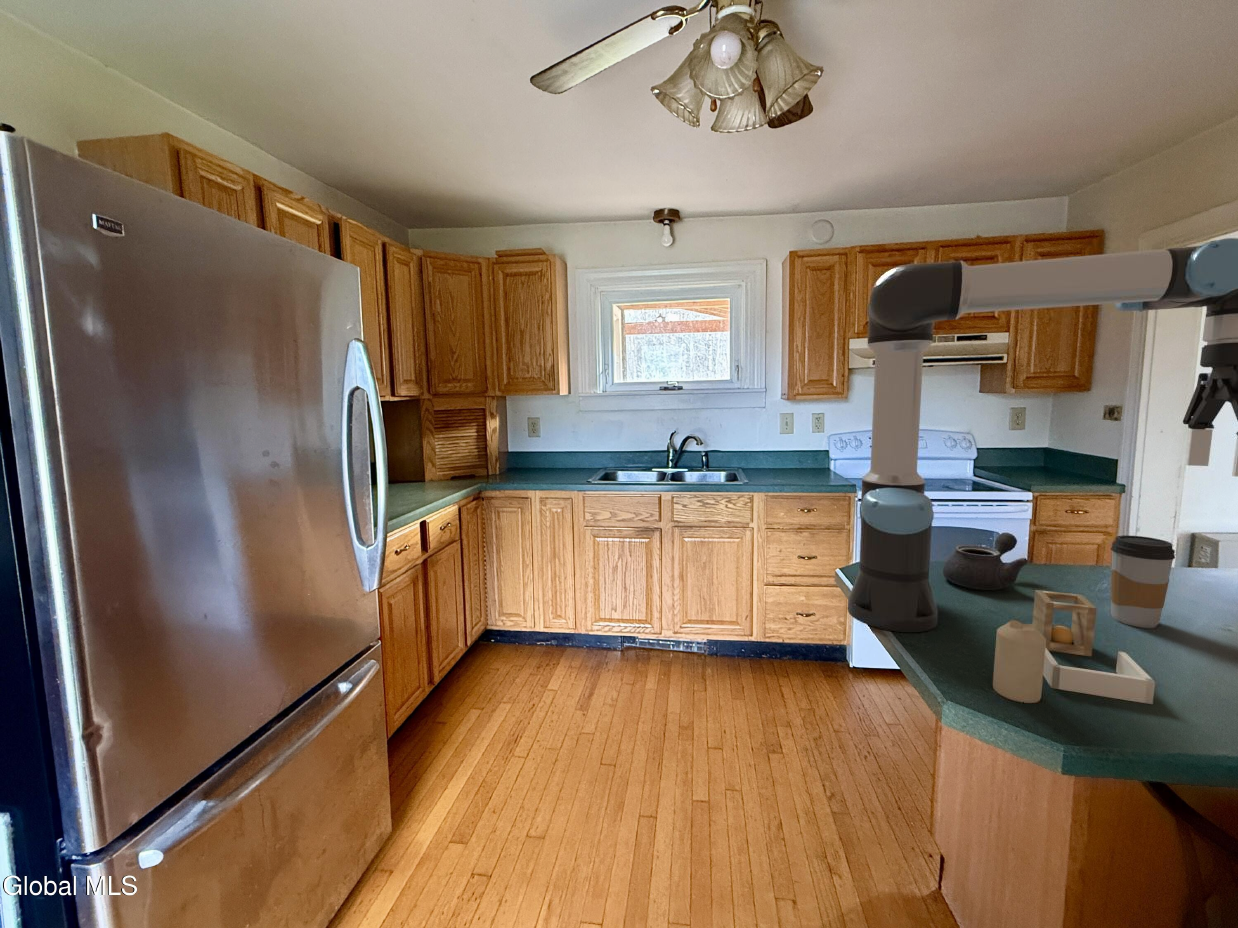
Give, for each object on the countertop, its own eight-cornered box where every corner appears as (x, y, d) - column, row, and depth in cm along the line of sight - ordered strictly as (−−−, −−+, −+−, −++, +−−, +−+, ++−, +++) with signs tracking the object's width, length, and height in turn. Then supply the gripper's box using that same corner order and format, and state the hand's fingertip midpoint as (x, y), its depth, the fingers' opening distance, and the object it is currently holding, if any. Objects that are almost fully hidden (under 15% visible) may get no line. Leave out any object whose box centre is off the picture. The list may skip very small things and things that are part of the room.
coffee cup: (1179, 632, 94) (1190, 548, 92) (1123, 629, 96) (1132, 546, 94) (1144, 613, 102) (1153, 535, 100) (1093, 610, 104) (1100, 533, 102)
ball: (1051, 647, 90) (1053, 628, 89) (1045, 639, 92) (1046, 621, 92) (1075, 650, 88) (1077, 631, 88) (1068, 642, 91) (1070, 624, 91)
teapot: (1015, 602, 108) (1019, 554, 107) (932, 582, 120) (935, 538, 119) (1044, 581, 120) (1048, 537, 119) (966, 565, 132) (969, 524, 131)
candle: (983, 683, 79) (988, 617, 78) (1018, 681, 79) (1024, 615, 78) (1013, 704, 74) (1019, 634, 72) (1051, 702, 74) (1058, 632, 73)
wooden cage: (1042, 649, 89) (1046, 602, 88) (1031, 634, 94) (1035, 589, 93) (1091, 656, 86) (1096, 608, 85) (1077, 640, 92) (1082, 594, 91)
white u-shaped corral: (1051, 687, 78) (1053, 666, 77) (1033, 659, 86) (1034, 639, 85) (1152, 704, 73) (1155, 681, 73) (1122, 672, 81) (1125, 652, 81)
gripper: (1328, 333, 76) (1305, 483, 79) (1221, 346, 99) (1206, 462, 102) (1254, 336, 79) (1235, 480, 82) (1166, 348, 102) (1154, 460, 105)
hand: (1219, 470), depth 92 cm, fingers open, 13 cm apart
